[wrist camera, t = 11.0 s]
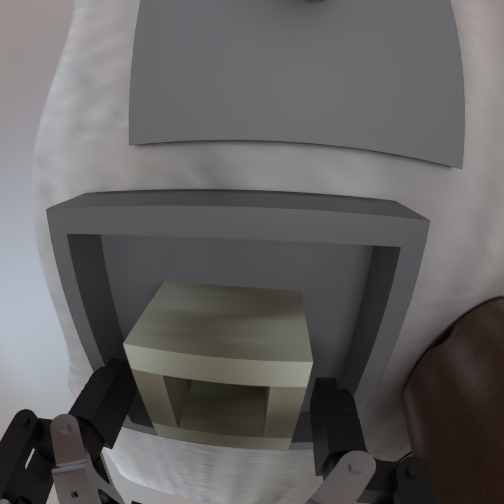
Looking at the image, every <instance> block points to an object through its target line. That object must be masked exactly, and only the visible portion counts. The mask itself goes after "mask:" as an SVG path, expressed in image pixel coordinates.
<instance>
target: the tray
mask: <svg viewBox="0 0 504 504" xmlns="http://www.w3.org/2000/svg"><path fill="white" fill-rule="evenodd" d="M46 212H47V219H48V225H49V231H50V236H51V241H52V246H53V251H54V255H55V260H56V264H57V268H58V272H59V276H60V280H61V283H62V287H63V290H64V294H65V297H66V300H67V303H68V307H69V310H70V313H71V316H72V319H73V321H74V324H75V327H76V330H77V333H78V335H79V338H80V340H81V343H82V345H83V348H84V350H85V353H86V355H87V358H88V360H89V362H90V364H91V367H92V369H93V371H94V372H95V371H96V370H97V369H99V368H100V367H101V366H103V367H105V366H106V365H107V363H108V362H109V360H110V359H111V358H118V359H123V360H127V361H128V358H127V355H126V352H125V348H124V345H123V343H124V341H125V340H126V338H127V336H128V335H129V333H130V332H131V330H132V329H133V327H134V326H135V324H136V323H137V321H138V319H139V318H140V316H141V315H142V313H143V312H144V310H145V309H146V307H147V306H148V304H149V303H150V301H151V300H152V298H153V297H154V296H155V294H156V293H157V291H158V290H159V288H160V287H161V285H162V284H163V282H164V281H168V282H180V283H193V284H206V285H220V286H236V287H252V288H271V289H292V290H301V295H302V300H303V306H304V311H305V317H306V322H307V328H308V334H309V340H310V346H311V352H312V358H313V365H312V369H311V373H310V377H309V381H308V384H307V388H306V392H305V396H304V399H303V403H302V407H301V410H300V413H299V417H298V420H297V424H296V427H295V430H294V433H293V437H292V440H291V443H290V446H289V449H288V450H299V449H313V438H312V427H311V417H310V400H311V396H312V392H313V388H314V384H315V380H316V378H317V377H335V378H336V382H337V386H338V389H342V388H347V389H348V391H349V392H350V393H351V394H352V396H353V397H354V400H355V404H356V410H357V412H358V418H359V420H360V418H361V416H362V414H363V412H364V410H365V408H366V407H367V405H368V403H369V401H370V399H371V397H372V395H373V393H374V391H375V389H376V386H377V384H378V382H379V380H380V378H381V376H382V373H383V371H384V369H385V367H386V364H387V362H388V360H389V357H390V355H391V352H392V350H393V348H394V345H395V342H396V340H397V337H398V335H399V332H400V329H401V326H402V324H403V321H404V318H405V315H406V312H407V309H408V306H409V303H410V300H411V297H412V293H413V290H414V287H415V283H416V280H417V276H418V272H419V268H420V265H421V261H422V257H423V252H424V248H425V244H426V239H427V234H428V229H429V224H430V220H428V219H426V218H425V217H423V216H421V215H419V214H418V213H416V212H414V211H412V210H411V209H409V208H407V207H405V206H403V205H402V204H400V203H398V202H396V201H390V200H381V199H372V198H363V197H352V196H341V195H329V194H315V193H300V192H282V191H260V190H222V189H171V190H134V191H112V192H95V193H85V194H83V195H80V196H77V197H75V198H72V199H70V200H67V201H65V202H62V203H60V204H57V205H55V206H53V207H50V208H48V209H46ZM122 427H125V428H129V429H132V430H136V431H140V432H144V433H148V434H152V435H156V436H158V435H157V432H156V430H155V428H154V426H153V424H152V421H151V419H150V417H149V414H148V412H147V410H146V407H145V405H144V402H143V400H142V397H141V395H140V392H139V389H138V387H137V394H136V396H135V398H134V401H133V403H132V405H131V407H130V409H129V412H128V414H127V416H126V418H125V421H124V423H123V425H122ZM161 437H163V436H161ZM165 438H167V437H165ZM170 439H172V438H170ZM175 440H177V439H175ZM181 441H183V440H181ZM187 442H189V441H187ZM193 443H195V442H193ZM199 444H201V443H199ZM206 445H208V444H206ZM214 446H216V445H214ZM223 447H225V446H223ZM233 448H235V447H233ZM246 449H249V448H246ZM268 450H270V449H268Z"/></svg>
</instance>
